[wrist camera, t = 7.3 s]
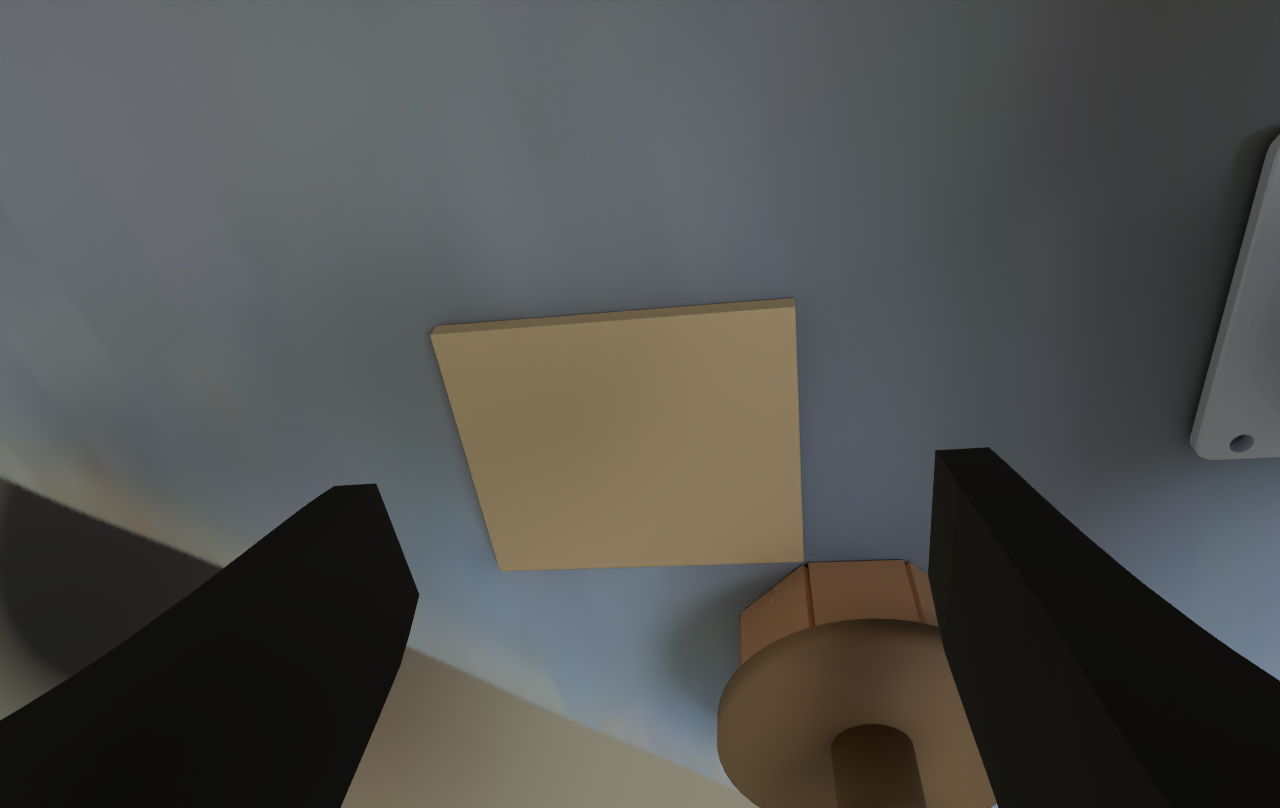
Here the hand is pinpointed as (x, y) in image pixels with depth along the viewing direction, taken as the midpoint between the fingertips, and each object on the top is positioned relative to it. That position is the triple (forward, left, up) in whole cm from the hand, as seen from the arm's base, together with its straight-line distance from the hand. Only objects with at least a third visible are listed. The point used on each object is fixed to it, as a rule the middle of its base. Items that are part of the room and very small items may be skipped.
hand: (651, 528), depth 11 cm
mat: (+2, +6, -10) cm, 11 cm away
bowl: (-4, +14, -10) cm, 17 cm away
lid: (-4, +13, -7) cm, 16 cm away
